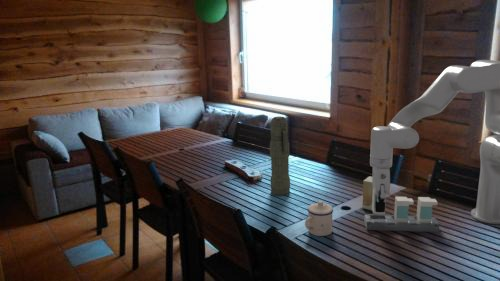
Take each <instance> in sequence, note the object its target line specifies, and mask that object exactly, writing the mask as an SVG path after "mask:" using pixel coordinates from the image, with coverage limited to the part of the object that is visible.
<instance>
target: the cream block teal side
mask: <svg viewBox="0 0 500 281" xmlns="http://www.w3.org/2000/svg"><path fill="white" fill-rule="evenodd" d="M416 204H417V205H416V206H417V207H416V215H417V218H416V220H417V222H418V223H431V218H432V216H433V206H438V201H437V200H436V198H431V197H429V196H426V197H425V196H418V197H417V203H416Z"/></svg>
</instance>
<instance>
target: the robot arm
mask: <svg viewBox="0 0 500 281" xmlns="http://www.w3.org/2000/svg"><path fill="white" fill-rule="evenodd" d="M483 92H484V94H485V95H484V96H485V114H484V116H485V117H484V118H485V119H484V122H485V124H484V125H485V127H486V129H487V130H488V131H490V132H491V133H494V134H495V135H489V136H487V137H484V139H483V140H482V141H481V143H480V145H479V159H480V171H479V177H478V178H479V179H478V180H479V181H478V187H477V188H478V189H477V190H478V191H477V196H476V197H477V198H476V206H475V208H473V209H471V211H470V215H471V217H472V218H474V219H475V220H477V221H479V222H482V223H486V224H491V225H500V60H492V59H491V60H490V59H479V60H475V61H474V62H472V63H470V65H469V66H466V65H459V64H458V65H457V64H455V65H450V66H448V67H446V68H445V69H444V70H443V71H442V72H441V73H440V75H439V76H437V78H436V79H435V80H434V81H433V82H432V83H431V85H430V86H429V87H428V88H427V89H426V90H425V91H424V92H423V94H422V95H421V96H419V98H417V99H415V100H414V101H412V102H410V103H409V104H407V105H406V106H404V107H403V108H401V109H400V110H399V111H398V112H397V113H396V114H395V116H394V117H393V118H392V119H391V121H390V122H389V123H388V124H387V125H386V126H382V125H381V126H379V125H378V126H375V127H373V128H372V129H371V133H370V153H369V157H370V158H369V165H370V166H371V167H372V171H371V172H372V176H371V177H372V186H373V188H374V191H375V193H376V194H377V201H376V208H375V211H376V212H385V213H386V202H385V192H386V194H388V196H389V194H390V191H391V171H390V168H392V167H393V154H394V149H402V150H403V149H406V150H407V149H411V148H414V147H416V146H417V145H418V143H419V141H420V135H419V133H418V131H417V130H415V129H414V128H412V126H413V125H414V124H415V123H416V122H418V121H420V120H422V119H423V118H427V117H431V116H434V115H438V114H441V113H442V112H443V111H444V110H445V109H446V107H447V106H448V105H449V104H450V103H451V102H452V101H453V99H455V97H456V96H457V95H458V94H459V93H463V94H475V93H483ZM378 192H380V193H378ZM379 195H381V196H380V197H379Z"/></svg>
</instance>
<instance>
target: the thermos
mask: <svg viewBox="0 0 500 281" xmlns="http://www.w3.org/2000/svg"><path fill="white" fill-rule="evenodd" d="M288 126H289V125H288V121H287V119H286V117H284V116H273V118H271V121H270V136H271V138H270V142H269V157H270V160H271V162H270V164H271V176H270V189H271V190H270V193H271V194H272V195H273V196H278V197H279V196H280V197H282V196H283V197H284V196H288V195H289V194H290V193H291V189H290V188H291V177H290V175H289V174H290V165H289V164H290V163H289V158H290V142H289V136H288V135H289V133H288V132H289V131H288V129H289V128H288Z"/></svg>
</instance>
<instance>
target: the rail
mask: <svg viewBox="0 0 500 281" xmlns="http://www.w3.org/2000/svg"><path fill="white" fill-rule="evenodd" d="M416 218H417V214H415V215H414V214H408V223H406V222H395V220H394V214H373V213H364V220H363V222H364V225H365V229H366V231H386V232H387V231H388V232H389V231H393V232H421V233H423V232H426V233H439V232H440V226H441V225H440V222H439V221H438V219H436V217H435V215H432V218H431V223H418V222H417V220H416Z"/></svg>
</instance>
